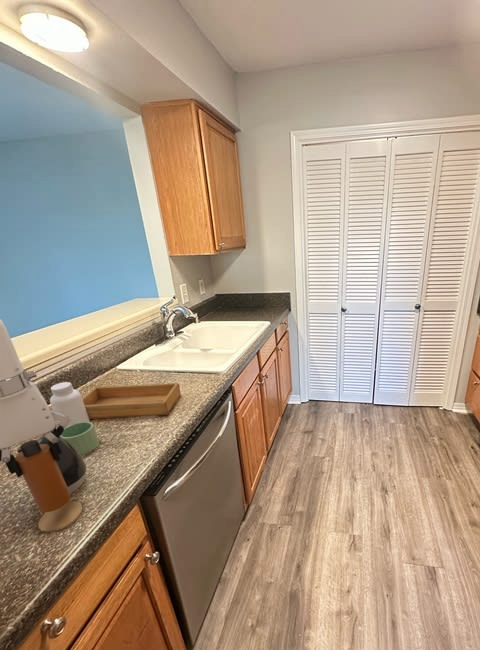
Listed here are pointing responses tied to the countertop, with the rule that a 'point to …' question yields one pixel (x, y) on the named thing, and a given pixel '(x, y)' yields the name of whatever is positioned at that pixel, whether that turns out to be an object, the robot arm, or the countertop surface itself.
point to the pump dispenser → (68, 463)
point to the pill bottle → (68, 403)
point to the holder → (81, 436)
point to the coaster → (60, 517)
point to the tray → (131, 400)
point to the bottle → (42, 476)
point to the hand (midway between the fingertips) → (38, 464)
